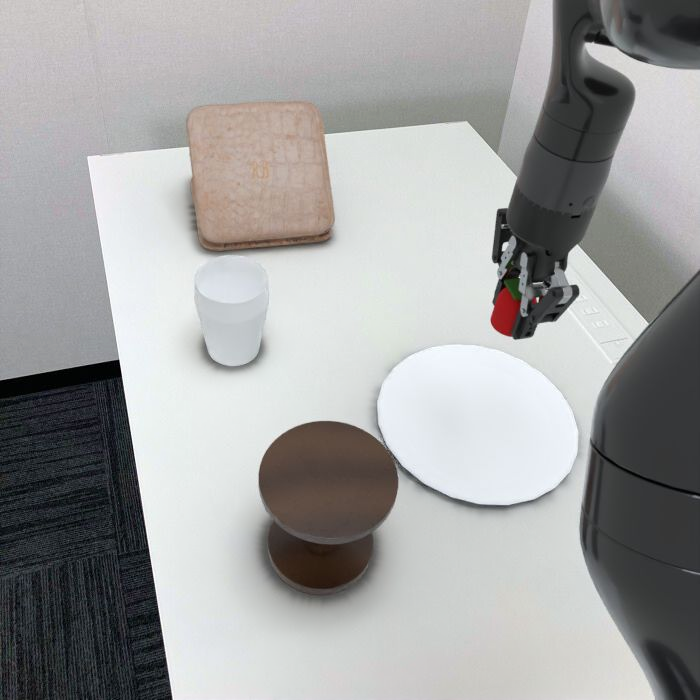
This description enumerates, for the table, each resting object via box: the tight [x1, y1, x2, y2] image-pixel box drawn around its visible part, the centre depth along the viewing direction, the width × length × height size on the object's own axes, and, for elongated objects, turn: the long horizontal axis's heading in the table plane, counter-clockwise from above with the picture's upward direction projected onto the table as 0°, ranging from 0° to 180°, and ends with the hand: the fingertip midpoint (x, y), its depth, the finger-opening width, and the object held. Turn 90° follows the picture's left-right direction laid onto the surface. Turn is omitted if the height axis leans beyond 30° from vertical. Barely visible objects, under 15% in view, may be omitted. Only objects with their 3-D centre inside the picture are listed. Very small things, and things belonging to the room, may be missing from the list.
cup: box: [193, 254, 270, 367], centre depth 92 cm, size 9×9×12 cm
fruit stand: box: [258, 420, 399, 596], centre depth 73 cm, size 13×13×13 cm
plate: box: [376, 343, 579, 507], centre depth 91 cm, size 25×25×1 cm
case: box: [185, 100, 336, 252], centre depth 111 cm, size 20×21×16 cm
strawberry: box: [490, 277, 539, 338], centre depth 77 cm, size 4×4×5 cm
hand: (511, 320), depth 79 cm, fingers closed on strawberry, 4 cm apart
